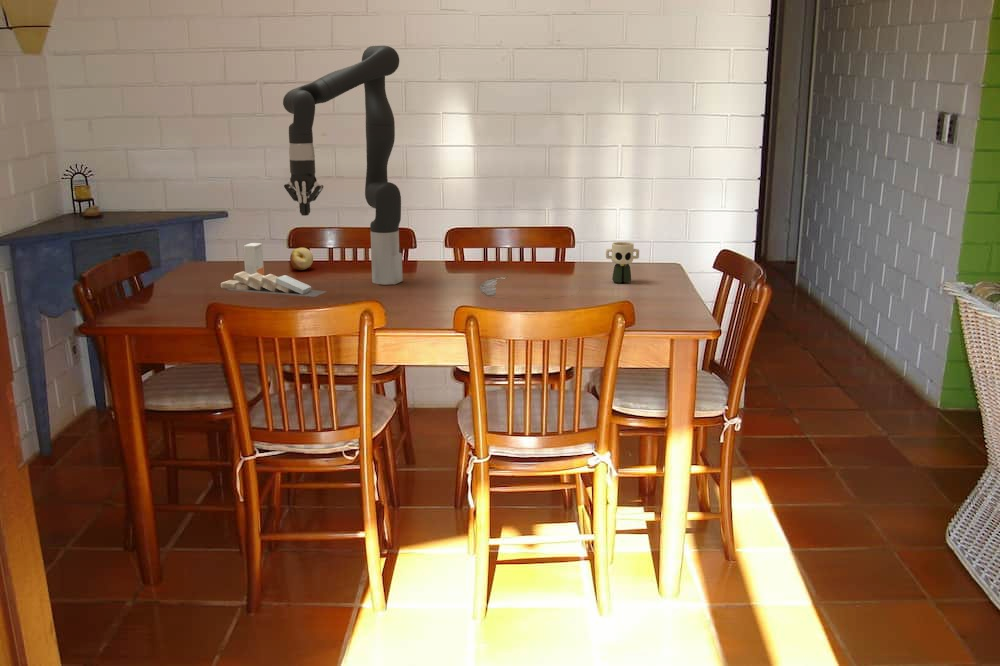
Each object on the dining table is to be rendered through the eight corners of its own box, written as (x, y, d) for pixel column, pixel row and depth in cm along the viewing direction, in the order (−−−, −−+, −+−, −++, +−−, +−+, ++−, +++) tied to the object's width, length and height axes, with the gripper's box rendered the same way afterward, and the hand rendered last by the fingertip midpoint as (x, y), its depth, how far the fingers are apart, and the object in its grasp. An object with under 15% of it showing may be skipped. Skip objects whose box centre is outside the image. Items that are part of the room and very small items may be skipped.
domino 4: (297, 285, 304) (270, 273, 306) (288, 288, 300) (262, 276, 302) (296, 290, 305) (269, 278, 307) (287, 293, 300) (260, 281, 302)
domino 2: (269, 283, 307) (243, 271, 310) (260, 286, 303) (234, 274, 305) (268, 287, 308) (242, 275, 310) (259, 290, 303) (233, 278, 306)
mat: (327, 292, 303) (327, 291, 303) (314, 298, 296) (314, 296, 296) (240, 285, 313) (240, 284, 313) (226, 290, 306) (226, 289, 306)
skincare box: (257, 281, 319) (254, 246, 316) (245, 281, 320) (242, 245, 317) (264, 277, 325) (262, 243, 322) (253, 277, 326) (250, 242, 323)
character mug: (606, 284, 314) (607, 245, 310) (604, 280, 320) (605, 241, 317) (639, 284, 313) (640, 245, 310) (636, 280, 320) (638, 241, 317)
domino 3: (283, 284, 306) (257, 272, 308) (275, 287, 301) (248, 275, 303) (282, 288, 306) (256, 277, 308) (273, 292, 302) (247, 280, 304)
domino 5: (311, 286, 303) (284, 274, 305) (303, 289, 298) (276, 277, 300) (310, 291, 303) (283, 279, 305) (302, 294, 299) (275, 282, 301)
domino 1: (256, 282, 309) (229, 279, 312) (247, 285, 304) (220, 283, 308) (256, 286, 309) (230, 284, 313) (247, 290, 305) (221, 287, 308)
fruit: (286, 271, 335) (285, 248, 333) (300, 267, 343) (298, 245, 341) (305, 273, 332) (303, 250, 330) (318, 268, 340) (317, 246, 338)
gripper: (276, 158, 288) (279, 216, 293) (315, 159, 284) (318, 218, 288) (289, 156, 295) (292, 212, 299) (327, 157, 291) (330, 214, 295)
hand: (305, 215), depth 294 cm, fingers closed
